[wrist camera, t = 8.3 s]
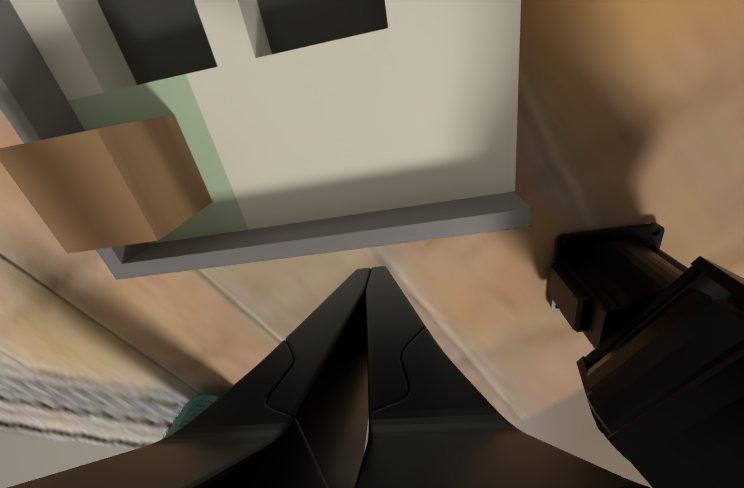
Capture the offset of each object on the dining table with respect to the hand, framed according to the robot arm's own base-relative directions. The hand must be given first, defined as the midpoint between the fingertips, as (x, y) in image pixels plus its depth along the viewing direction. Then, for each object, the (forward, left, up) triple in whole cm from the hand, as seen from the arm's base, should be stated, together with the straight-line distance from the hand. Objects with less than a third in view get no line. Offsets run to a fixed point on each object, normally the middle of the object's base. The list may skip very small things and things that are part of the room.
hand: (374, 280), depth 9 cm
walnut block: (+13, -3, -10) cm, 16 cm away
